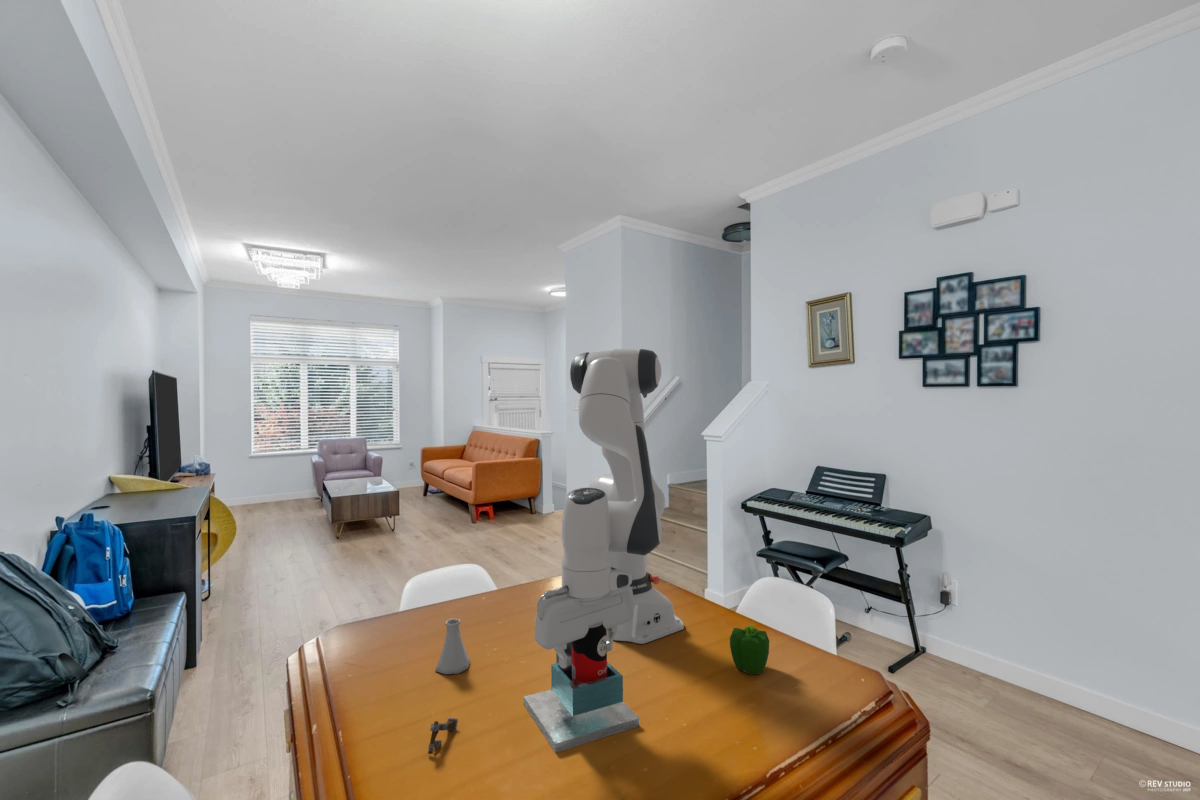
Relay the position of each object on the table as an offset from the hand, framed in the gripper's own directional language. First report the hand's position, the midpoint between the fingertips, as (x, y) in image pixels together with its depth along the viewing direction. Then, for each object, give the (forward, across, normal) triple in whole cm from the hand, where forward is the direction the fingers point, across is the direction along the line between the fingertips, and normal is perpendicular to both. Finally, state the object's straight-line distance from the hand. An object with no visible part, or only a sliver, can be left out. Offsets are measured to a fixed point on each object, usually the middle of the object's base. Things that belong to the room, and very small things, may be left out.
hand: (586, 658), depth 95 cm
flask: (+12, -9, +35) cm, 38 cm away
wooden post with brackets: (+12, -22, +12) cm, 27 cm away
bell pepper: (+12, +39, -7) cm, 42 cm away
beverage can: (+6, +1, 0) cm, 6 cm away
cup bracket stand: (+12, +1, +3) cm, 12 cm away
